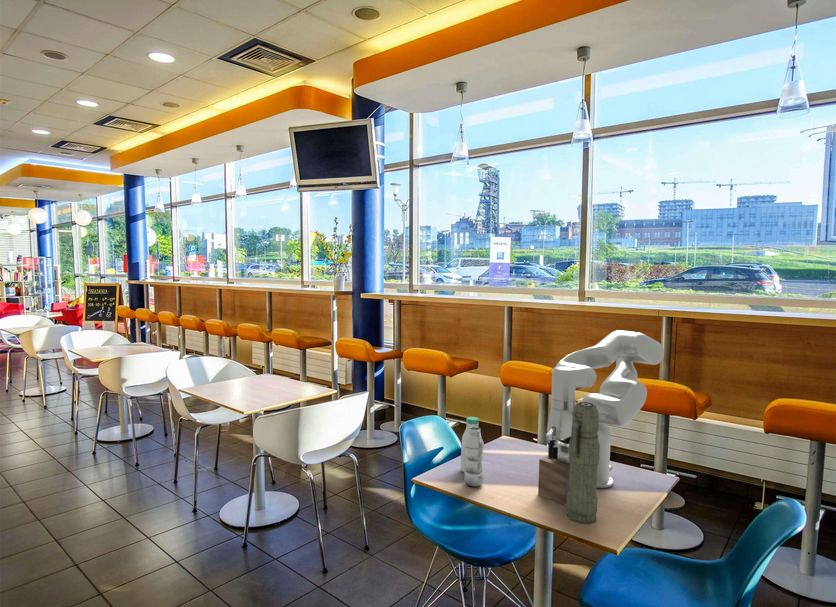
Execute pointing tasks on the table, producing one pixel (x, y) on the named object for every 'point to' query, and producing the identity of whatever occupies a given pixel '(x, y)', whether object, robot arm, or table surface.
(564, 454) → the white block
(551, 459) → the slotted wooden block
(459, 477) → the table surface
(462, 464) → the milk bottle
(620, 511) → the table surface
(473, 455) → the plastic bottle
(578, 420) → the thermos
